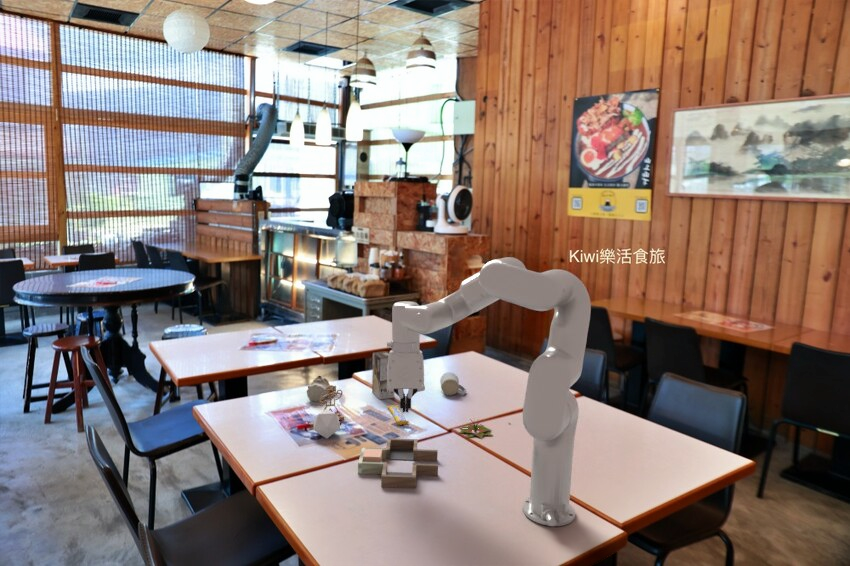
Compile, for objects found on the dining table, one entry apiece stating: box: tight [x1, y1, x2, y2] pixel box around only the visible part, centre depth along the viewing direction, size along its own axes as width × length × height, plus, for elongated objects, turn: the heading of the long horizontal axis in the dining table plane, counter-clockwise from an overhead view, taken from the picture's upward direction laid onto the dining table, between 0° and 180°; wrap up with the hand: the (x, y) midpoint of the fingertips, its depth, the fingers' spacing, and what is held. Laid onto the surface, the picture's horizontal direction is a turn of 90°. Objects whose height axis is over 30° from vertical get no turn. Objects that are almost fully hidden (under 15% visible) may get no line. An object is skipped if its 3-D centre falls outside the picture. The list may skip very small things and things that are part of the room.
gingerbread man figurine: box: [318, 384, 345, 421], centre depth 195 cm, size 9×4×12 cm, turn 112°
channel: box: [357, 438, 439, 489], centre depth 163 cm, size 24×22×3 cm
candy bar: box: [386, 404, 410, 426], centre depth 201 cm, size 17×4×2 cm, turn 16°
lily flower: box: [458, 418, 494, 440], centre depth 189 cm, size 12×12×5 cm
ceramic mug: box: [439, 372, 467, 396], centre depth 226 cm, size 10×8×7 cm
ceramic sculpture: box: [306, 375, 337, 403], centre depth 217 cm, size 11×9×15 cm
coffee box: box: [371, 350, 396, 400], centre depth 220 cm, size 9×6×16 cm
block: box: [363, 449, 383, 462], centre depth 163 cm, size 5×5×4 cm
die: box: [312, 408, 341, 439], centre depth 182 cm, size 8×9×10 cm
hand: (405, 410), depth 160 cm, fingers closed
